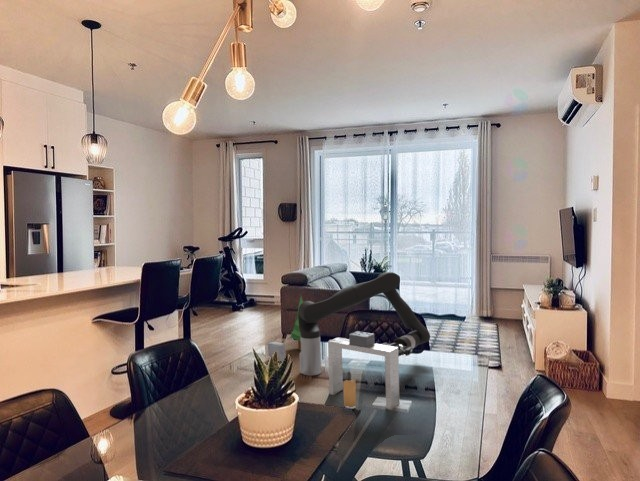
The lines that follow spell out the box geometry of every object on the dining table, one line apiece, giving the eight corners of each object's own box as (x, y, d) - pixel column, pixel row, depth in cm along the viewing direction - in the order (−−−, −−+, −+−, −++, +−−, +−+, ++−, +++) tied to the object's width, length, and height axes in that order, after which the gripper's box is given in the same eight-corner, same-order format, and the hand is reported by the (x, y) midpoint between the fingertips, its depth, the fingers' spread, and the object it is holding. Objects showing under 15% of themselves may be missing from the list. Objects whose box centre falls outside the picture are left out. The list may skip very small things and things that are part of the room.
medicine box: (285, 359, 231) (285, 343, 231) (280, 362, 227) (279, 345, 227) (273, 357, 235) (273, 341, 235) (268, 360, 232) (267, 343, 231)
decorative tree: (311, 353, 241) (309, 297, 239) (284, 351, 246) (282, 296, 244) (320, 346, 253) (318, 293, 252) (294, 344, 259) (293, 292, 257)
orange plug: (342, 409, 171) (340, 373, 170) (347, 404, 175) (345, 369, 174) (353, 411, 168) (352, 374, 168) (358, 406, 173) (356, 370, 172)
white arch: (329, 394, 185) (327, 331, 184) (338, 388, 191) (337, 327, 189) (390, 409, 169) (389, 341, 167) (399, 403, 174) (398, 336, 173)
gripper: (390, 334, 214) (373, 341, 201) (418, 338, 205) (402, 346, 192) (390, 349, 214) (373, 358, 201) (418, 354, 206) (402, 364, 193)
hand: (387, 352), depth 197 cm, fingers open, 8 cm apart
